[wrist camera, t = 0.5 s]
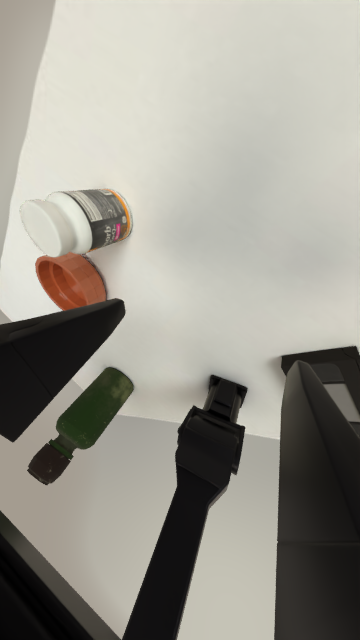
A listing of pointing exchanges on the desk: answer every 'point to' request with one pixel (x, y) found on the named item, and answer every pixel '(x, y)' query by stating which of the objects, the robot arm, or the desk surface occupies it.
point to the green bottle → (82, 424)
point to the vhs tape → (335, 377)
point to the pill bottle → (76, 221)
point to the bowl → (70, 281)
